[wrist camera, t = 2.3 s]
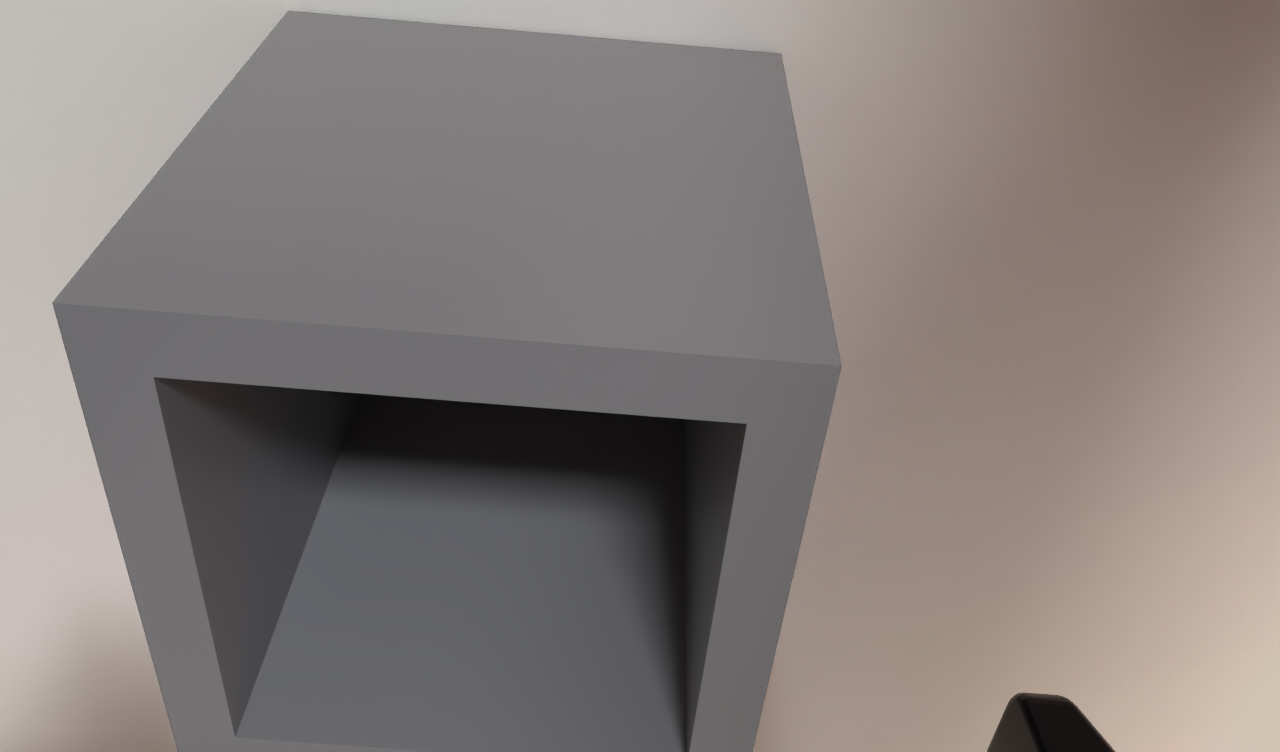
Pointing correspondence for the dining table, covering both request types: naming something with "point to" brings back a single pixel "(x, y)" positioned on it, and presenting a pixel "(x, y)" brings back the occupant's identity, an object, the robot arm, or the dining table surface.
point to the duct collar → (464, 393)
